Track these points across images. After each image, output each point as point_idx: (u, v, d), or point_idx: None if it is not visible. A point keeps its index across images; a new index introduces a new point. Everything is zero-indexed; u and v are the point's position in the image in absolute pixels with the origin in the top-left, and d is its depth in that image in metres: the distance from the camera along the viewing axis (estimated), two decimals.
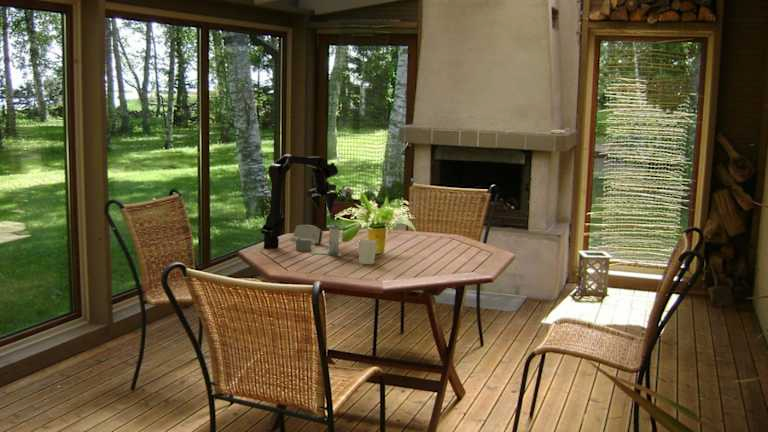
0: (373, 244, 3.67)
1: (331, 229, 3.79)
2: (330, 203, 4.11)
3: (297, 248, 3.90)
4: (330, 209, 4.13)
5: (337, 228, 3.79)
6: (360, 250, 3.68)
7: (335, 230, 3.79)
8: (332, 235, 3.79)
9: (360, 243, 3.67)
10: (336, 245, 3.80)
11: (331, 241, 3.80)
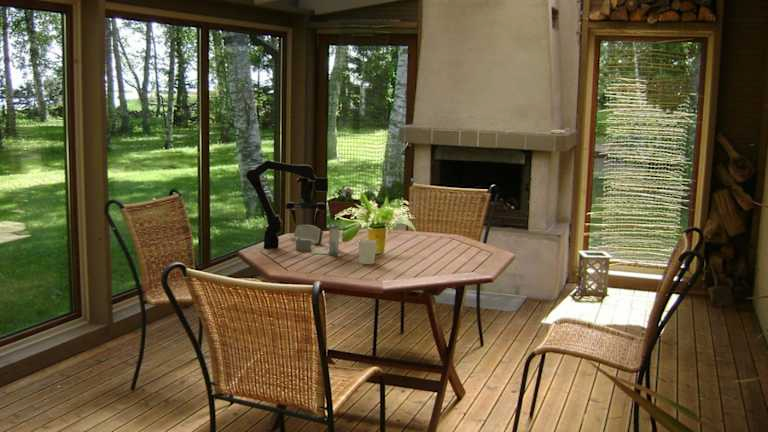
0: (373, 244, 3.67)
1: (331, 229, 3.79)
2: None
3: (297, 248, 3.90)
4: (294, 220, 3.94)
5: (337, 228, 3.79)
6: (360, 250, 3.68)
7: (335, 230, 3.79)
8: (332, 235, 3.79)
9: (360, 243, 3.67)
10: (336, 245, 3.80)
11: (331, 241, 3.80)
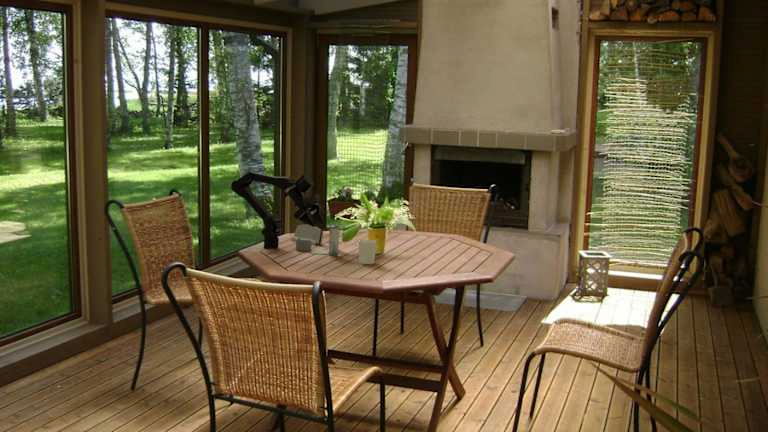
0: (373, 244, 3.67)
1: (331, 229, 3.79)
2: (307, 219, 3.79)
3: (297, 248, 3.90)
4: (311, 224, 3.79)
5: (337, 228, 3.79)
6: (360, 250, 3.68)
7: (335, 230, 3.79)
8: (332, 235, 3.79)
9: (360, 243, 3.67)
10: (336, 245, 3.80)
11: (331, 241, 3.80)
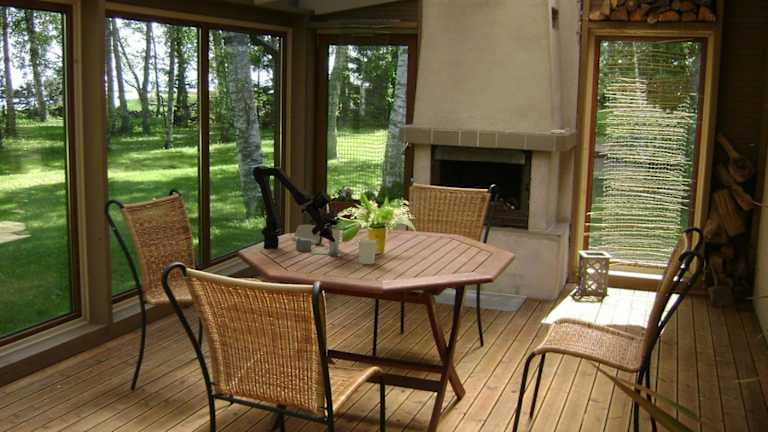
0: (373, 244, 3.67)
1: (331, 229, 3.79)
2: (327, 234, 3.79)
3: (297, 248, 3.90)
4: (331, 239, 3.79)
5: (337, 228, 3.79)
6: (360, 250, 3.68)
7: (335, 230, 3.79)
8: (332, 235, 3.79)
9: (360, 243, 3.67)
10: (336, 245, 3.80)
11: (331, 241, 3.80)
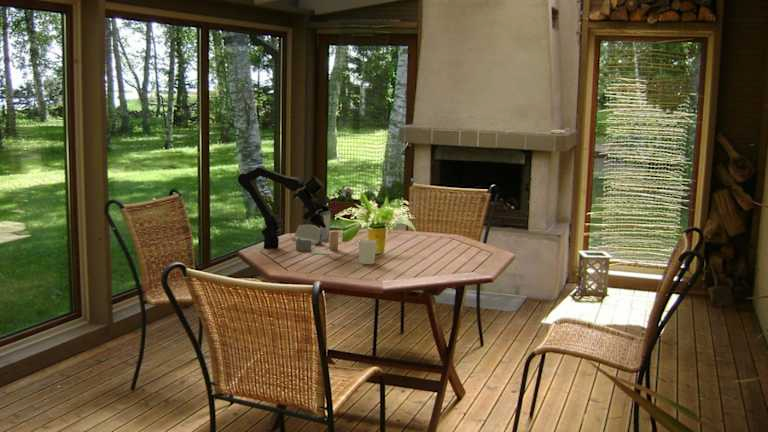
0: (373, 244, 3.67)
1: (323, 215, 3.82)
2: (318, 220, 3.81)
3: (297, 248, 3.90)
4: (322, 225, 3.81)
5: (328, 214, 3.82)
6: (360, 250, 3.68)
7: (327, 216, 3.81)
8: (323, 221, 3.82)
9: (360, 243, 3.67)
10: (327, 231, 3.83)
11: (322, 227, 3.82)
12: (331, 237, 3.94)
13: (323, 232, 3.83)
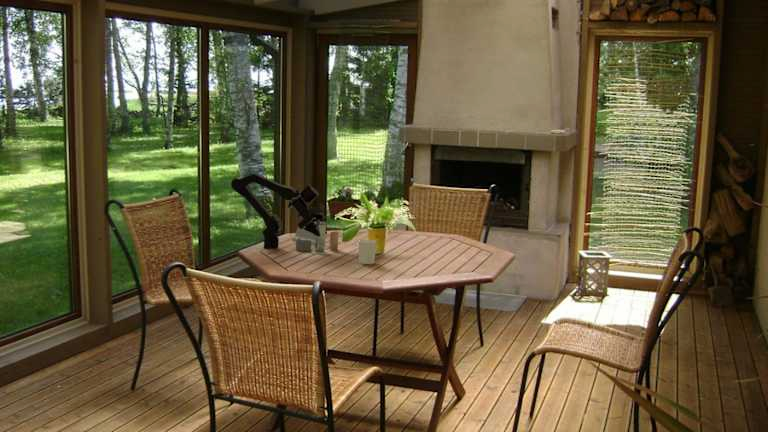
0: (373, 244, 3.67)
1: (318, 225, 3.85)
2: (312, 228, 3.83)
3: (297, 248, 3.90)
4: (316, 234, 3.83)
5: (324, 224, 3.85)
6: (360, 250, 3.68)
7: (322, 226, 3.85)
8: (318, 231, 3.85)
9: (360, 243, 3.67)
10: (322, 241, 3.86)
11: (318, 237, 3.86)
12: (331, 237, 3.94)
13: (319, 242, 3.86)
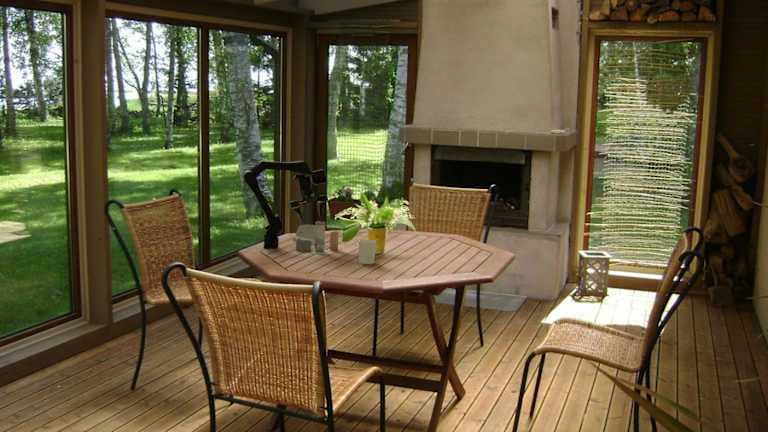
0: (373, 244, 3.67)
1: (317, 225, 3.85)
2: None
3: (297, 248, 3.90)
4: (300, 218, 3.94)
5: (323, 224, 3.85)
6: (360, 250, 3.68)
7: (321, 226, 3.85)
8: (318, 231, 3.85)
9: (360, 243, 3.67)
10: (322, 241, 3.86)
11: (317, 237, 3.85)
12: (331, 237, 3.94)
13: (318, 242, 3.86)
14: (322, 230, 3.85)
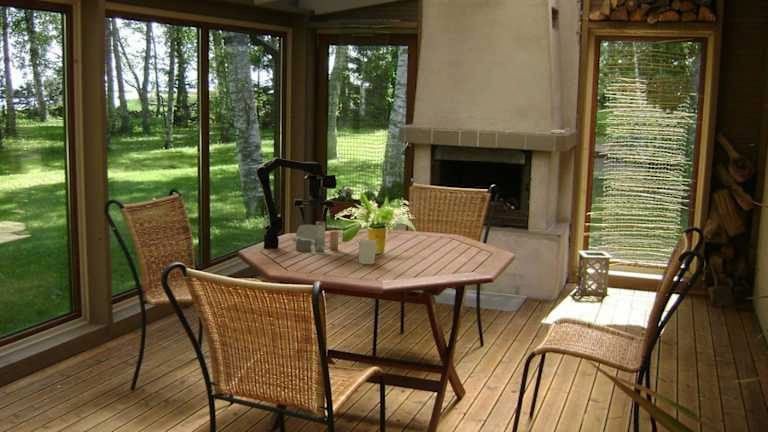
0: (373, 244, 3.67)
1: (318, 225, 3.85)
2: (301, 210, 3.97)
3: (297, 248, 3.90)
4: (302, 217, 3.98)
5: (323, 224, 3.85)
6: (360, 250, 3.68)
7: (321, 226, 3.85)
8: (318, 231, 3.85)
9: (360, 243, 3.67)
10: (322, 241, 3.86)
11: (317, 237, 3.86)
12: (331, 237, 3.94)
13: (318, 242, 3.86)
14: (322, 230, 3.85)
